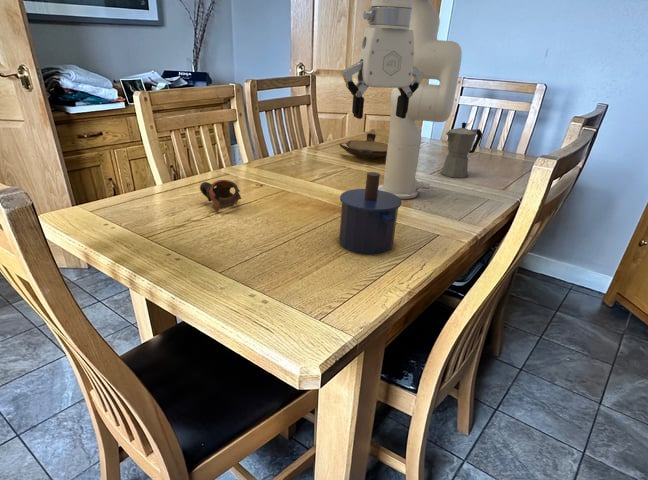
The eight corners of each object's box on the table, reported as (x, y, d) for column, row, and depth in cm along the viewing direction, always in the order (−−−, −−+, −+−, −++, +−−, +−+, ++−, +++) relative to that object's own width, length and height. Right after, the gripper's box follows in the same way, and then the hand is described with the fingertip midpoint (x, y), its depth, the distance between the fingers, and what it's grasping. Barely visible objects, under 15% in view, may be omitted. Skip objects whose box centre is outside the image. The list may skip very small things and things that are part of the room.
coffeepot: (447, 179, 153) (457, 125, 144) (431, 172, 161) (440, 120, 152) (481, 176, 159) (494, 124, 150) (464, 169, 166) (475, 119, 157)
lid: (380, 191, 107) (384, 163, 103) (412, 210, 96) (417, 180, 93) (329, 196, 102) (331, 167, 98) (357, 217, 91) (360, 185, 88)
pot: (370, 225, 114) (374, 186, 108) (409, 255, 100) (416, 211, 94) (326, 231, 109) (328, 190, 104) (360, 263, 95) (365, 218, 90)
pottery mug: (245, 202, 125) (246, 183, 118) (232, 226, 120) (232, 207, 113) (206, 188, 126) (205, 167, 118) (191, 211, 121) (189, 191, 114)
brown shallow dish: (328, 158, 171) (329, 138, 167) (362, 145, 193) (363, 127, 189) (380, 168, 161) (382, 147, 157) (409, 153, 184) (412, 134, 180)
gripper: (354, 17, 75) (347, 121, 84) (441, 22, 81) (425, 120, 89) (339, 17, 82) (333, 114, 90) (420, 22, 87) (407, 114, 95)
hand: (379, 117), depth 90 cm, fingers open, 9 cm apart
